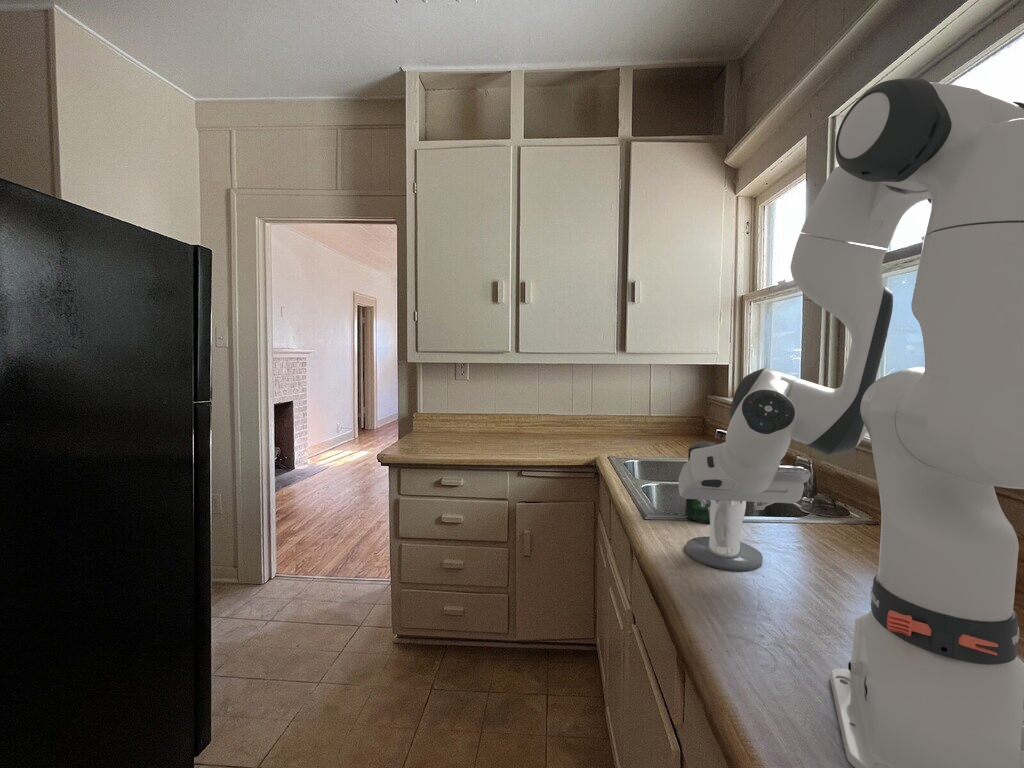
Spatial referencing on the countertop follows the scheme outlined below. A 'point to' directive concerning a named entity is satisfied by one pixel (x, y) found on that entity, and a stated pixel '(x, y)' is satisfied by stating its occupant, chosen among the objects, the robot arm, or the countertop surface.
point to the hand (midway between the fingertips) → (731, 505)
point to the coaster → (745, 562)
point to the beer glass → (726, 527)
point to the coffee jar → (694, 505)
